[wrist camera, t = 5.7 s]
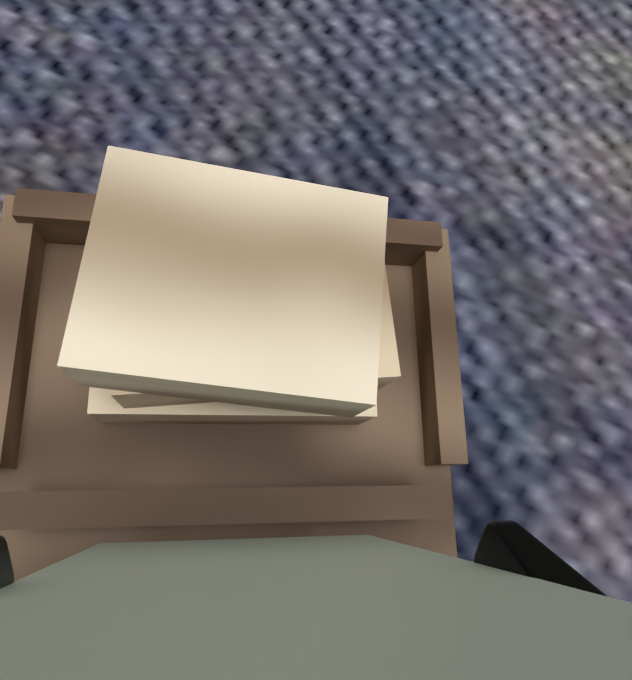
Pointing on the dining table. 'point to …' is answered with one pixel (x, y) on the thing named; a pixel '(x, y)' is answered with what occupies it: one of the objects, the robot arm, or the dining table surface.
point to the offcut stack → (229, 298)
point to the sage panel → (302, 616)
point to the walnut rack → (216, 439)
